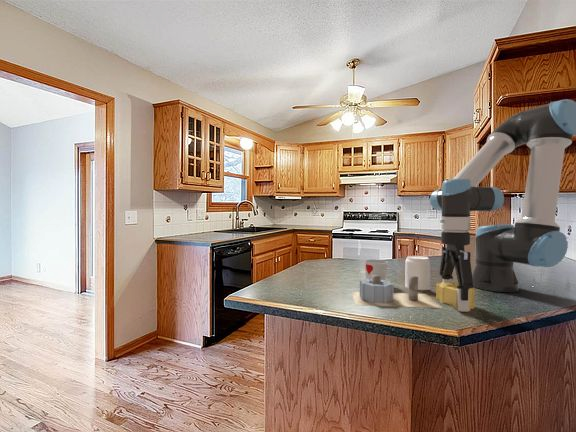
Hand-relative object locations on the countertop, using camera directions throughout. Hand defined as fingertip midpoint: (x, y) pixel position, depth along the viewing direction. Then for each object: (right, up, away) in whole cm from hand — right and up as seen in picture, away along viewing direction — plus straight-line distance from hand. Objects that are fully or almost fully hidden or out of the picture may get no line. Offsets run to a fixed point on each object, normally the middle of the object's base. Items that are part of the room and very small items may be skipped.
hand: (454, 305), depth 93 cm
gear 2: (0, 0, 0) cm, 0 cm away
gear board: (-18, 0, +2) cm, 18 cm away
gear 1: (-23, +1, +2) cm, 23 cm away
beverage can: (-4, 0, +17) cm, 17 cm away
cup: (-18, 0, +20) cm, 27 cm away
